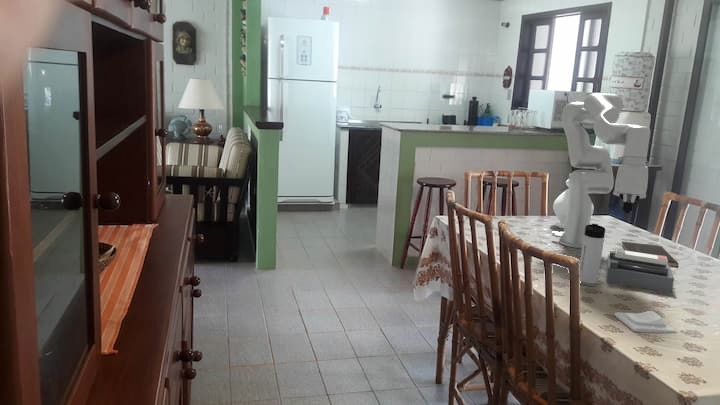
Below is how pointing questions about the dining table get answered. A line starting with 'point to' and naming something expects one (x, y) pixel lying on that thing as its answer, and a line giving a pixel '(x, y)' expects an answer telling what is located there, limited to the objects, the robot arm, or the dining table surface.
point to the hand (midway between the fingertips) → (626, 212)
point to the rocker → (641, 257)
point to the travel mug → (591, 254)
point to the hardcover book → (650, 251)
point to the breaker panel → (639, 273)
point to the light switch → (644, 322)
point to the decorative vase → (563, 206)
